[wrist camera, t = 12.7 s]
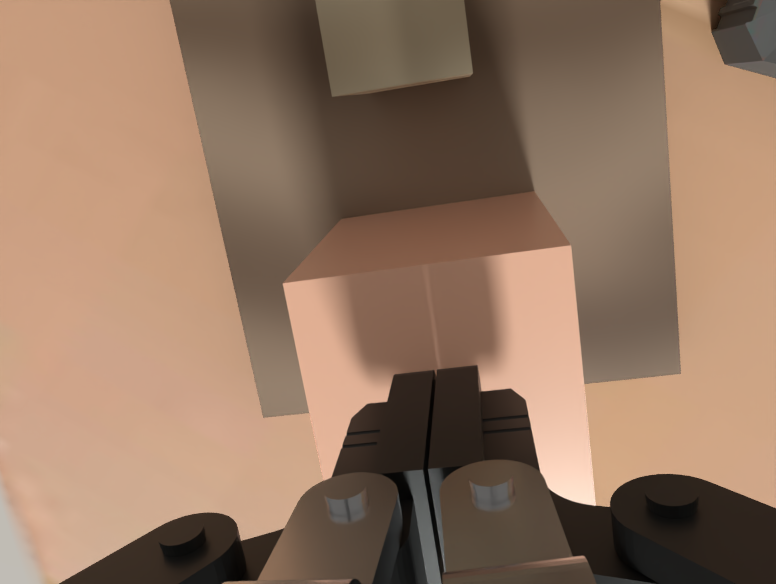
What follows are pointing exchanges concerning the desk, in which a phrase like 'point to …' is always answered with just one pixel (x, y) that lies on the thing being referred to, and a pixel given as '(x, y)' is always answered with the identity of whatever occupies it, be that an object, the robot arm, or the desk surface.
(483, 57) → the board
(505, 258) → the peach cube
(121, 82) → the desk surface
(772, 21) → the walkie-talkie
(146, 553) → the robot arm
